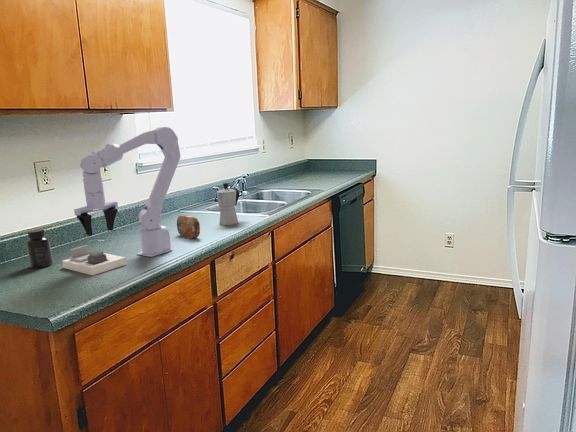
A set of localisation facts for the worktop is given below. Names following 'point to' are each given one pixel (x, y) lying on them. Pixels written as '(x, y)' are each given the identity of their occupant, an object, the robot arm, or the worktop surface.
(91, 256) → the plug
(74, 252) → the shutter
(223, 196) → the coffee maker
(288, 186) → the worktop surface
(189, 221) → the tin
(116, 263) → the socket plate
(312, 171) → the worktop surface
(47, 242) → the supplement bottle
